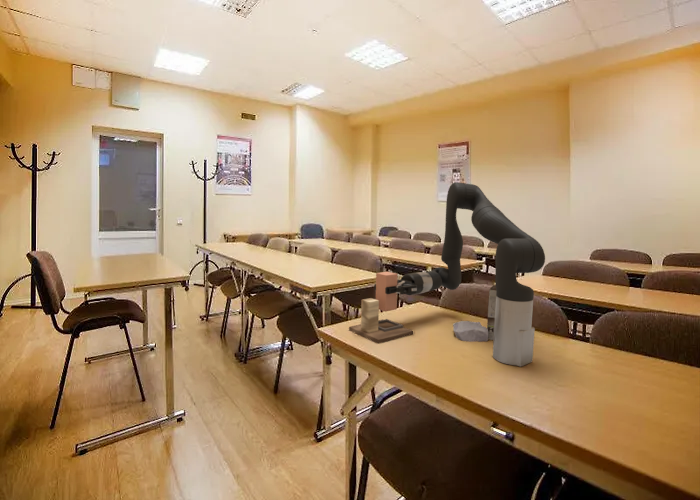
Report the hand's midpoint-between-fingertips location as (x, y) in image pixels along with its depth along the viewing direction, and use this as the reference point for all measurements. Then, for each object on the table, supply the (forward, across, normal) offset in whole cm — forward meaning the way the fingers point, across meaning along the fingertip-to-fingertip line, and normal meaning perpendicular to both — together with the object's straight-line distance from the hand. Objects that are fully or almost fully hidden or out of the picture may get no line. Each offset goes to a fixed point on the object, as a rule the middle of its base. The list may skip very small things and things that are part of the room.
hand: (380, 289), depth 124 cm
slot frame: (-2, 0, +13) cm, 13 cm away
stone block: (-21, +19, +15) cm, 32 cm away
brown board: (+1, +1, +14) cm, 14 cm away
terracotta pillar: (-3, 0, +7) cm, 7 cm away
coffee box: (-28, +26, +14) cm, 41 cm away
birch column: (+5, 0, +13) cm, 14 cm away
